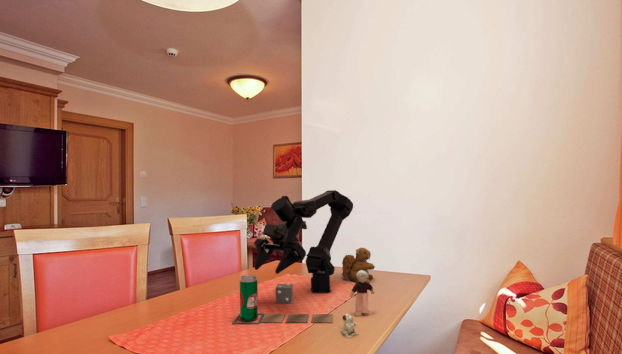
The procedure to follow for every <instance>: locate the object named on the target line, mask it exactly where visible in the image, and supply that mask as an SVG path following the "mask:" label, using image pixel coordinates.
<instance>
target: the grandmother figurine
mask: <svg viewBox="0 0 622 354" xmlns="http://www.w3.org/2000/svg"><path fill="white" fill-rule="evenodd" d="M356 276H357V278H358V280H359V282H358V283H357V282H355V285H354V286H353V287H352V289H351V290H350V294H349V297H350V298H353V297H354V295H355V293H356V297H355V313H354V316H355V317H362V316H369V315H370V311H369V292H370V293H371V295H374V294H375V290H374V289H373V288H374V287H373V285H371V284H370V283H367V282H365V281H366V279H367V277H368V274H367V273H366V272H365V271H363V270H360V271H358V272H357V274H356ZM368 291H369V292H368Z"/></svg>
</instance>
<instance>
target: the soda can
mask: <svg viewBox="0 0 622 354" xmlns="http://www.w3.org/2000/svg"><path fill="white" fill-rule="evenodd" d="M258 292H259V290H258V279H257V275H255V274H254V275H253V274H246V275H242V276H240V279H239V313H240V317H239V319H240V320H241V322H255V321H256V320H257V319H258V317H259V315H258V313H259V310H258V309H259V308H258V307H259V303H258V302H259V301H258V294H259V293H258Z"/></svg>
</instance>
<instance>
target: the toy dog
mask: <svg viewBox="0 0 622 354" xmlns="http://www.w3.org/2000/svg"><path fill="white" fill-rule="evenodd" d="M341 319H342V320H343V321H342V322H343V325H342V326H341V325H340V326H339V329H340V331H341V333H342V334H343V335H344V336H345V338H348V339H352V337H353V336H356V335H359V333H358V332H356V331H355V327H356V326H358V322H355V321H354V317H353V316H352V314H351V313H345V314H344V315H343V316H342V318H341Z"/></svg>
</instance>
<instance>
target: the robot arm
mask: <svg viewBox="0 0 622 354" xmlns="http://www.w3.org/2000/svg"><path fill="white" fill-rule="evenodd" d="M325 206H328V207H329V211H330V218H329V220H328V221H327V223H326V227H325V229H324V231H323V232H322V234H321V238H319V239H320V240H319V241H318V244H317V245H316V246H311V247H309V250H308V252H307V251H306V250H305V248H304V247H303V246H302V244H301V243H300V242H298V240H299V239H298V238H297V236H298V235H299V233H300V231H301V230H307V229H308V226H307V222H306V221H305V220H304V219H310V218H312V217H313V216H315V214H317V211H318V210H320V209H321V208H323V207H325ZM270 209H271V210H272V211H273V214H275V215H276V217H277V218H278V220H279V221H280V222H283V223H279V225H278V224H267V223H266V224H264V228H263V231H262V235H264V236H266V237H267V236H268V238H269V240H270V241H269V240H268V239H267V238H259V237H258V238H256V239H255V241H254V242H253V245H254V248H255V249H256V250H257V253H256V254H257V255H256V260H255V263H254V267H253V268H254V269H255V270H256V271H257V270H259V269H260V268H261V267H262V266H263V265H264V264H265V263H266V262H267V261H268V260H269V259H270V258H271V255H272V254H273V253H274V251H275V252H281V253H282V257H281V259H280V261H279V262H278V264H277V266H276V269H275V274H277V275H279V273H282V272H283V271H284V270H285V269H288V267H290V266H292V265H294V264H296V263H297V262H300V261H304V259H305V258H306V259H305V266H306V269H307V273H308V274H311V277H310V289H311V291H312V293H313V294H314V293H316V294H317V293H319V294H320V293H321V294H323V293H326V294H328V293H331V278H330V277H331V276H333V275H334V274H335V269H336V268H335V266H334V265H333V263H332V262H331V261H332V256H331V255H332V254H331V249H332V247H333V245H334V242H335V240H336V237H337V235H338V232H339V230H340V228H341V225H342V223H343V221H344V220H345V219H347V218H348V217H349V216H350V215H351V213H352V211H353V209H354V202H352V201H351V199H350V198H349V197H348V196H345V195H344V194H342V193H340V192H339V191H338V190H336V189H333V190H332V189H331V190H329V189H328V190H326V191H324V192H323V193H321V194H318V195H316V196H314V197H312V198H310V199H305V200H297V201H294V202H293V203H292V201H291V200H290V198H289V196H288V195H282V196H281V198H278V199H276V200H275V201H274V202H272V204H271V206H270ZM271 242H272V243H271Z"/></svg>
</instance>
